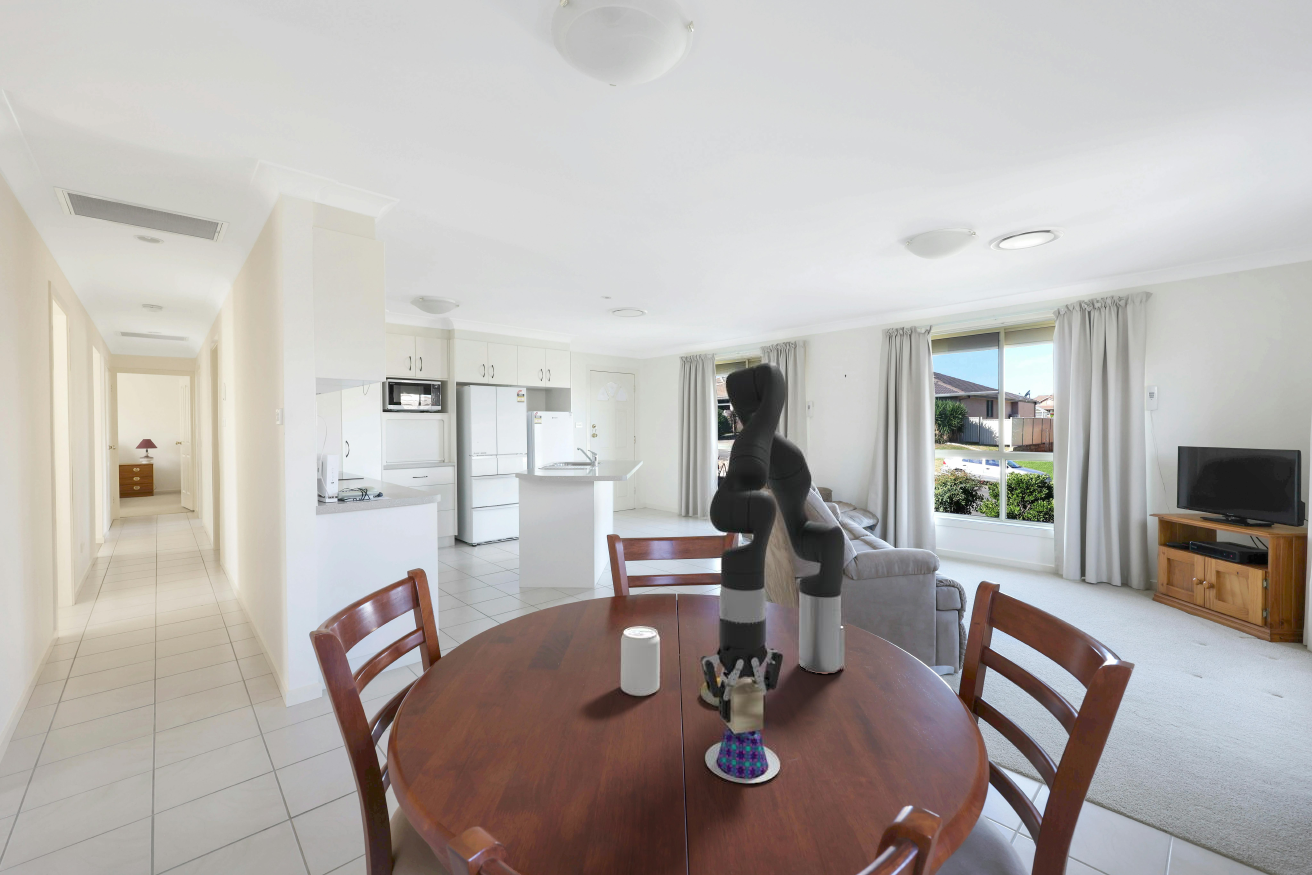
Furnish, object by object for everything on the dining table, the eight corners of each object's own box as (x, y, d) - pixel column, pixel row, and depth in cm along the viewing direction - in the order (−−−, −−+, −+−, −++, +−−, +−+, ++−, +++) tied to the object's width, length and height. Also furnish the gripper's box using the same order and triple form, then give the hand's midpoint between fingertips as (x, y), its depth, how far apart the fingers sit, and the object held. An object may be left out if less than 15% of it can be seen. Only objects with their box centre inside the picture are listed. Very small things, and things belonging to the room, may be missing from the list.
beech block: (749, 713, 93) (749, 678, 93) (763, 728, 88) (763, 691, 88) (721, 717, 91) (721, 681, 91) (734, 733, 87) (734, 695, 87)
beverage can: (655, 699, 111) (655, 640, 111) (616, 695, 113) (616, 636, 113) (662, 682, 119) (663, 626, 119) (626, 679, 121) (626, 624, 121)
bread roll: (754, 700, 112) (754, 680, 112) (719, 711, 107) (720, 691, 107) (727, 684, 119) (727, 666, 119) (694, 695, 114) (694, 675, 114)
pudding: (780, 749, 94) (780, 718, 94) (780, 793, 82) (780, 757, 83) (709, 740, 97) (710, 710, 97) (700, 781, 85) (700, 747, 85)
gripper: (770, 602, 95) (770, 701, 95) (693, 609, 91) (692, 712, 91) (793, 616, 88) (793, 723, 88) (710, 624, 84) (709, 736, 84)
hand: (741, 717), depth 90 cm, fingers closed on beech block, 5 cm apart
